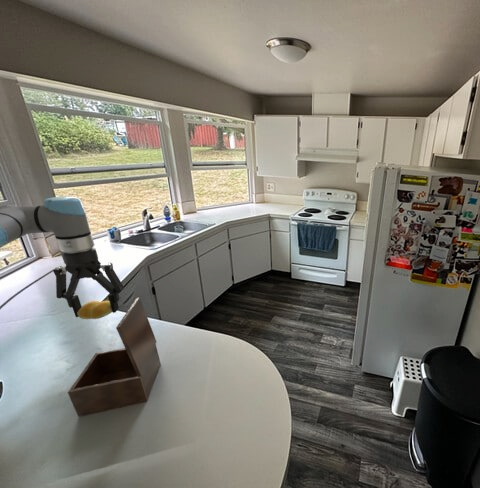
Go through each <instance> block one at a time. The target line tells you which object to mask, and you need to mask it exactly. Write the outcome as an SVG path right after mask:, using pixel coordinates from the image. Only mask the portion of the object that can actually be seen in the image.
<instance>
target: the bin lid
mask: <svg viewBox="0 0 480 488" xmlns="http://www.w3.org/2000/svg"><path fill="white" fill-rule="evenodd" d="M115 329H116V332H117V333H118V335H119V338H120V340H121V342H122V344H123V346H124V348H125V349H126V351H127V353H128V356H129V358H130V360H131V362H132V365H133V367H134V369H135V371H136V373H137V376H138V377H141V376H142V374H143V372H144V369H145V367H146V365H147V362H148V360H149V358H150V356H151V353H152V351H153V349H154V346H155V344H156V345H157V342H158V341H157V339H156V336H155V333H154V330H153V329H152V325H151V323H150V321H149V318H148V315H147V313H146V310H145V307H144V305H143V302H142V299H141V298H140V297H136V298H135V300H134V301H133V303H132V304H131V305H130V307H129V308H128V309H127V311H126V313H125V314H124V316H123V317H122V318H121V320H120V321H119V323H118V324H117V325H116V327H115Z"/></svg>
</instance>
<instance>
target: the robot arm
mask: <svg viewBox="0 0 480 488" xmlns="http://www.w3.org/2000/svg"><path fill="white" fill-rule="evenodd" d="M41 233H43V234H44V233H53V234H54V237H55V240H56V242H57V245H58V248H59V251H60V252H61V253H60V254H61V257H62V260H63V264H64V265H65V266H62V265H60V266H58V267H57V266H56V267H55V268H53V269H51V270H50V271H48V272H46V273H45V274H43V275H42V276H40V277H38V278H37V279H35V280H33V281H32V282H30V283H29V284H28V285H26V286H24V287H23V288H21V289H20V290H19V291H17V292H16V293H14V295H12V296H11V297H9V298H8V299H7V300H6V301H4V302H3V303H2V304H1V305H0V310H1V309H2V308H4V307H5V306H6V305H7V304H8V303H9V302H11V301H12V300H13V299H14V298H16V297H17V296H18V295H19V294H21V293H23V291H25V290H27V289H28V288H29V287H31V286H32V285H34V284H36V283H38V282H39V281H40V280H42V279H43V278H45V277H46V276H48V275H50V274H51V273H53V274H54V276H55V288H56V289H55V290H56V292H55V293H56V298H57V299H65V300H66V302H67V305H68V308H72V310H73V313H74V316H75V318H80V317H79V316H78V314H77V312H78V311H79V309H80V308H81V307H82V306H83V305H82V303H81V300H80V297H79V294H76V291H77V288H78V285H79V282H80V280H81V279H92V280H93V281H96V282H97V284H98V285H100V286H101V287H102V288H103V289H104V290H105V291H106V292H108V294H107V299H108V301H109V302H110V305H111V308H112V313H113V314H114V313H117V311H118V310H119V308H120V306H119V302H120V295H119V293H121V292H122V291H123V290H124V288H125V286H124V285H123V283H122V282H121V280H120V277H119V276H118V275H117V273H116V271H115V270H114V266H113V265H114V263H113V262H108V263H101V261H100V260H99V256H98V252H97V250H96V247H95V242H94V239H93V238H94V237H93V235H92V231H91V229H90V225H89V221H88V217H87V212H86V210H85V208H84V205H83V203H82V200H81V198H78V197H76V196H53V197H48V198H45V199H44V200H43V204H42V205H13V206H12V205H11V206H10V205H9V206H8V205H1V206H0V249H1V248H3V247H4V246H6V245H8V244H10V243H12V242H14V241H16V240H18V239H20V238H22V237H24V236H26V235H29V234H41ZM100 269H102V271H101V270H100ZM67 272H68V273H69V274H70V275H71V277H70V279H69V280H70V282H69V284H68V287H67ZM103 272H104V273H105V275H106V276H105V275H104V273H103Z"/></svg>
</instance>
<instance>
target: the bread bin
mask: <svg viewBox="0 0 480 488" xmlns="http://www.w3.org/2000/svg"><path fill="white" fill-rule="evenodd" d="M161 365H162V363H161V360H160V355H159V352H158V348H157V343H156V344H155V346H154V349H153V351H152V353H151V356H150V358H149V360H148V362H147V365H146V367H145V369H144V372H143V374H142V376H141V377H138V376H137V373H136V371H135V369H134V367H133V365H132V362H131V360H130V358H129V356H128V353H127V351H126V349H125V347H124V348H118V349H117V348H116V349H111V350H106V351H100V352H95V354H94V355H93V356H92V358H91V359H90V361H89V362H88V363H87V365H86V366H85V367H84V369H83V370H82V372H81V373H80V374H79V376H78V378H76V380H75V381H74V383H73V384H72V385H71V387H70V389H69V390H68V391H67V394H68V396H69V399H70V400H71V404H72V406H73V408H74V410H75V412H76V415H77V417H78V418H79V417H84V416H88V415H93V414H96V413H97V414H98V413H101V412H106V411H111V410H116V409H119V408H123V407H128V406H134V405H138V404H142V403H146V402H148V400H149V398H150V395H151V392H152V390H153V387H154V384H155V381H156V380H157V376H158V373H159V371H160V368H161Z"/></svg>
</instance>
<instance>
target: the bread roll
mask: <svg viewBox="0 0 480 488" xmlns="http://www.w3.org/2000/svg"><path fill="white" fill-rule="evenodd" d="M81 306H82V307H81V308H80V309H79V311H78V312H77V314H78V316H79V317H78V318H80V319H82V320H99V319H103V318H105V317H106V316H109V315H110V314H112V313H113V312H112V308H111V305H110V302H109V300H103V301H100V300H92V301H91V300H90V301H88V302H86V303H85V304H83V305H81Z"/></svg>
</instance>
